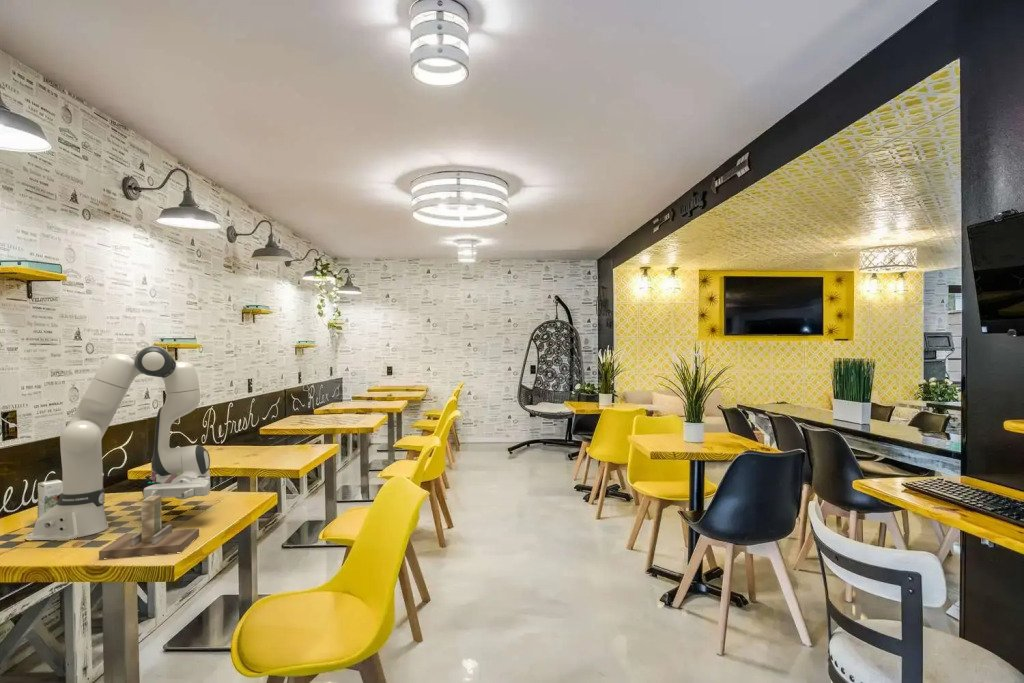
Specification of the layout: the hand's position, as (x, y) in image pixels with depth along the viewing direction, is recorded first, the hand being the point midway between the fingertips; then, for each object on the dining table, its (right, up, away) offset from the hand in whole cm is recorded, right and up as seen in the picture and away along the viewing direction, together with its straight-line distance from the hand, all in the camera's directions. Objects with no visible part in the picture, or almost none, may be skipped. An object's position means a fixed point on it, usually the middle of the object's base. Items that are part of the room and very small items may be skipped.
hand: (168, 495), depth 186 cm
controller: (-33, -14, +42) cm, 55 cm away
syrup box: (-55, -14, +17) cm, 59 cm away
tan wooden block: (+3, -10, -13) cm, 17 cm away
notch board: (+3, -13, -13) cm, 19 cm away
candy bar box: (-33, -15, +52) cm, 63 cm away
